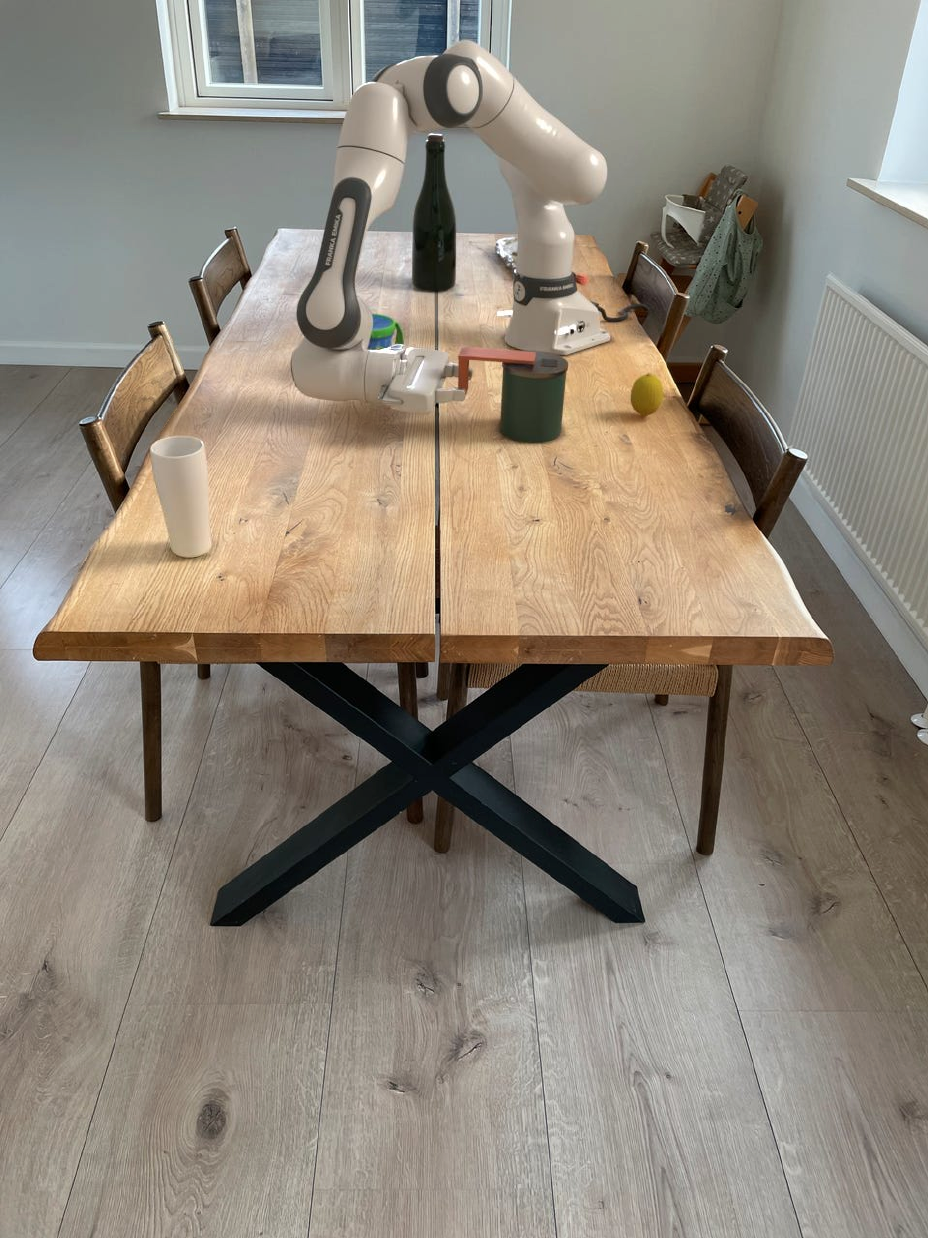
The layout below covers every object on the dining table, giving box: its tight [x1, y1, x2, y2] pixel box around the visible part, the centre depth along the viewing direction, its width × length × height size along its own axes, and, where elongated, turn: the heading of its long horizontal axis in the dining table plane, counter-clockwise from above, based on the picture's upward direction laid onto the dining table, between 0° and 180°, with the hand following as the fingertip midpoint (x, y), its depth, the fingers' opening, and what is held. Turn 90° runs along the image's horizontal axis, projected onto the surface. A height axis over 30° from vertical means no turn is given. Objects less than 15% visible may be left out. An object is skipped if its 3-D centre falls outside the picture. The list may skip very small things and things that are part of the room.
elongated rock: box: [495, 236, 518, 277], centre depth 254 cm, size 35×5×10 cm
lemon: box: [630, 372, 664, 418], centre depth 173 cm, size 6×6×8 cm
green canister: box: [499, 351, 569, 444], centre depth 166 cm, size 11×11×12 cm
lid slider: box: [457, 346, 536, 396], centre depth 164 cm, size 12×4×7 cm, turn 83°
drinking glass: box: [149, 435, 213, 559], centre depth 129 cm, size 7×7×15 cm
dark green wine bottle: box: [411, 133, 457, 292], centre depth 228 cm, size 10×10×33 cm
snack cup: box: [368, 313, 405, 351], centre depth 186 cm, size 16×10×10 cm
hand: (468, 384), depth 166 cm, fingers open, 8 cm apart
